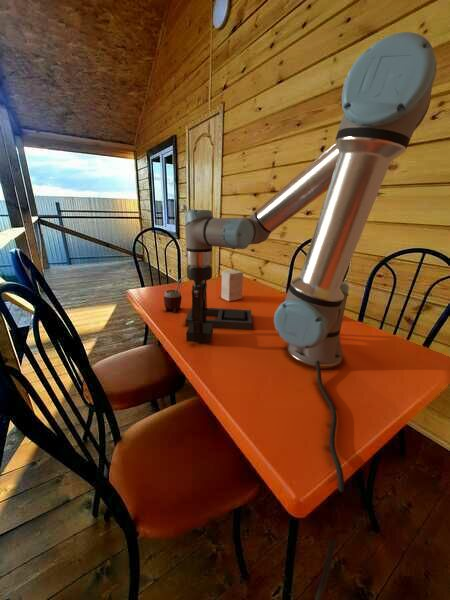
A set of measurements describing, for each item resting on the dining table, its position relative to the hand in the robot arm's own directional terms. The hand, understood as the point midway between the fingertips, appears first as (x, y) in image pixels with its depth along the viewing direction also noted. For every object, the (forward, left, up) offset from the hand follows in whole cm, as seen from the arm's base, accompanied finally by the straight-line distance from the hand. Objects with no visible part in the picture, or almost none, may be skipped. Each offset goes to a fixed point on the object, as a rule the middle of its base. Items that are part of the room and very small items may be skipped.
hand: (200, 335), depth 82 cm
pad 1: (0, 0, 0) cm, 0 cm away
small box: (+42, -9, -1) cm, 43 cm away
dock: (+15, -5, -1) cm, 16 cm away
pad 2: (+15, -11, -1) cm, 19 cm away
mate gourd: (+23, +14, -1) cm, 27 cm away
